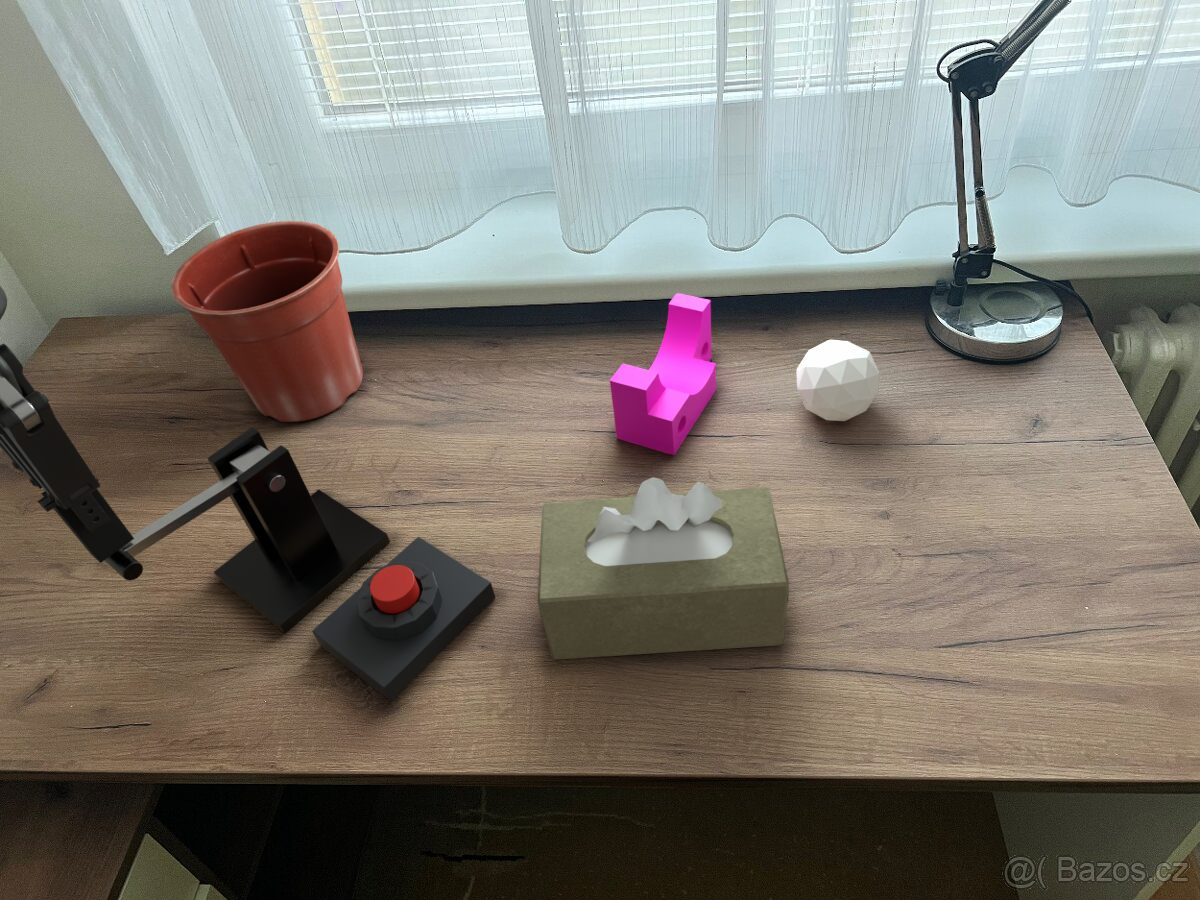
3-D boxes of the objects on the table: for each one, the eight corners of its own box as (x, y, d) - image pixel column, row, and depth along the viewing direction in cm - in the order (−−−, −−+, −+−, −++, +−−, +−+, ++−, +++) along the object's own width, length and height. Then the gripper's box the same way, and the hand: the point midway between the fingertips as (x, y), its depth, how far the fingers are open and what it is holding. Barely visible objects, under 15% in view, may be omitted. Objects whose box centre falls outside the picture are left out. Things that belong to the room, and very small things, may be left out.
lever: (130, 589, 63) (117, 566, 62) (96, 558, 66) (83, 536, 64) (292, 483, 71) (284, 460, 70) (256, 459, 74) (248, 437, 72)
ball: (814, 419, 90) (800, 343, 89) (894, 408, 86) (880, 327, 85) (793, 434, 83) (777, 352, 82) (878, 422, 79) (863, 335, 78)
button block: (391, 702, 68) (377, 675, 65) (320, 645, 73) (303, 618, 70) (496, 597, 74) (487, 569, 72) (424, 551, 79) (413, 522, 76)
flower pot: (203, 414, 96) (134, 292, 85) (304, 329, 106) (255, 209, 95) (314, 455, 89) (256, 329, 78) (411, 360, 99) (372, 236, 88)
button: (396, 621, 69) (390, 608, 68) (366, 600, 71) (360, 587, 70) (428, 590, 71) (423, 577, 70) (399, 571, 73) (393, 557, 72)
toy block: (674, 455, 84) (670, 396, 79) (616, 438, 87) (609, 380, 82) (733, 363, 93) (733, 305, 88) (679, 350, 96) (676, 293, 90)
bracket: (285, 633, 74) (219, 528, 64) (218, 580, 79) (148, 474, 69) (390, 541, 80) (344, 433, 70) (322, 497, 85) (271, 390, 75)
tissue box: (548, 661, 69) (515, 533, 58) (552, 563, 76) (523, 432, 65) (787, 646, 68) (800, 512, 57) (769, 548, 75) (777, 412, 64)
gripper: (17, 269, 46) (206, 551, 62) (-81, 209, 52) (114, 479, 69) (-133, 346, 42) (110, 625, 58) (-218, 270, 48) (22, 541, 65)
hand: (112, 546), depth 64 cm, fingers closed
